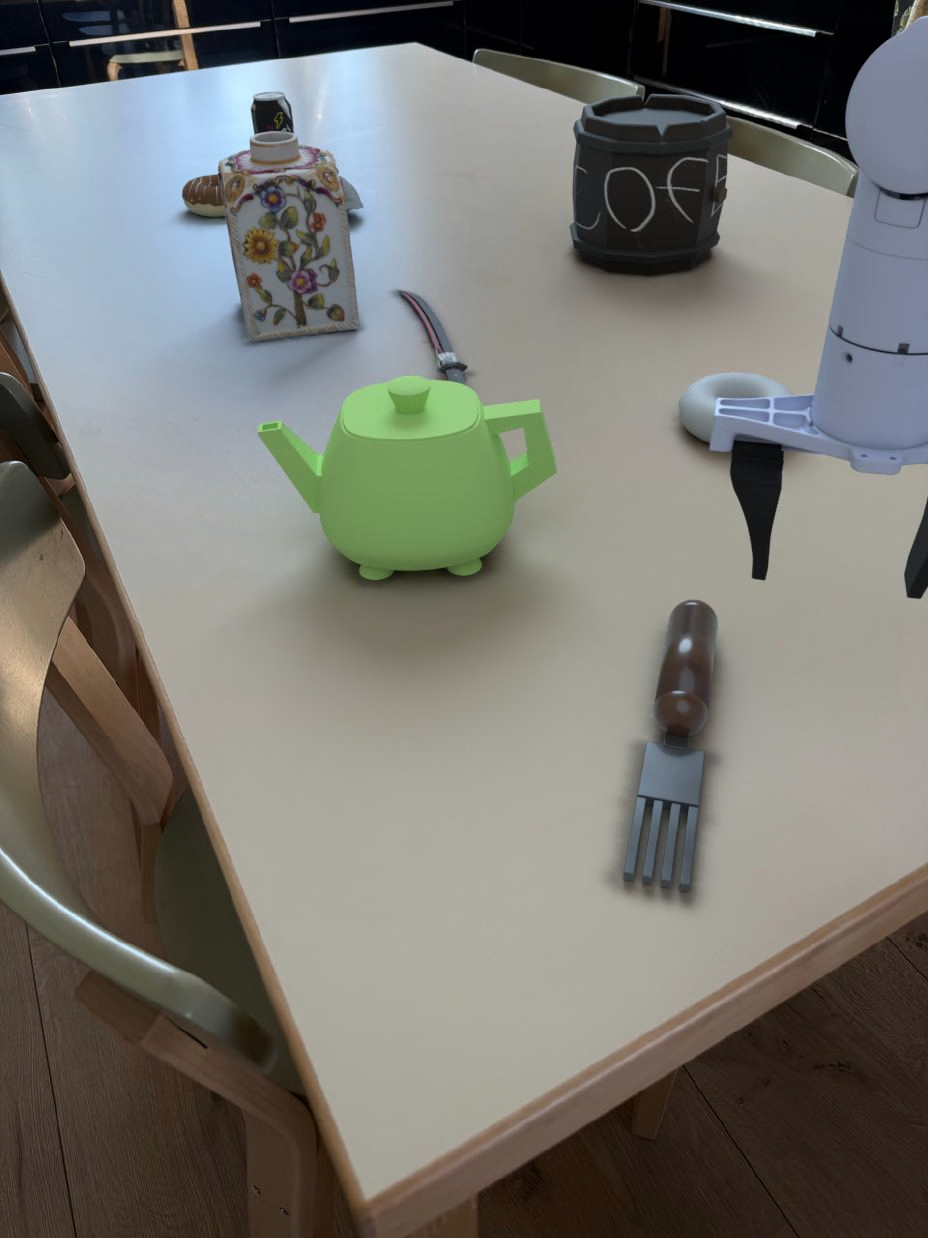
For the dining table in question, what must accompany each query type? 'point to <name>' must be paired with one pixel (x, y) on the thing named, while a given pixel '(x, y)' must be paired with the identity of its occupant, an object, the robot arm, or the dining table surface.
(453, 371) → the sword
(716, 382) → the donut
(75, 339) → the dining table surface
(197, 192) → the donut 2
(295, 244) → the decorative jar
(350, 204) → the seashell
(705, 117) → the wooden barrel
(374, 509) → the teapot
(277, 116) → the beverage can
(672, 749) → the fork
